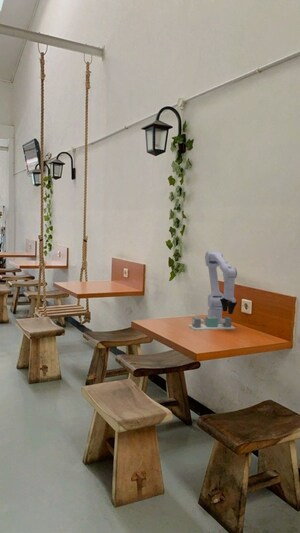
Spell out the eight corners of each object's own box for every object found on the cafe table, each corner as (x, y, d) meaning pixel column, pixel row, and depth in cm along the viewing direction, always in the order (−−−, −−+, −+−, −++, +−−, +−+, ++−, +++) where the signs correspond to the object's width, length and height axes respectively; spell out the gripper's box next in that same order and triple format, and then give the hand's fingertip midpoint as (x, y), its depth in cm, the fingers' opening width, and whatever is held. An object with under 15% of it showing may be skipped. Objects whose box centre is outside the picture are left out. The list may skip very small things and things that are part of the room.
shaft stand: (188, 326, 241) (189, 316, 241) (228, 325, 247) (228, 316, 247) (194, 330, 232) (194, 320, 232) (234, 329, 239) (235, 319, 238)
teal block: (214, 325, 242) (215, 316, 242) (217, 327, 239) (218, 317, 238) (205, 325, 241) (205, 316, 240) (207, 327, 237) (208, 317, 237)
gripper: (217, 287, 243) (216, 310, 244) (228, 291, 229) (226, 315, 230) (228, 287, 245) (227, 309, 246) (239, 291, 231) (238, 315, 232)
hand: (227, 312), depth 238 cm, fingers open, 7 cm apart
